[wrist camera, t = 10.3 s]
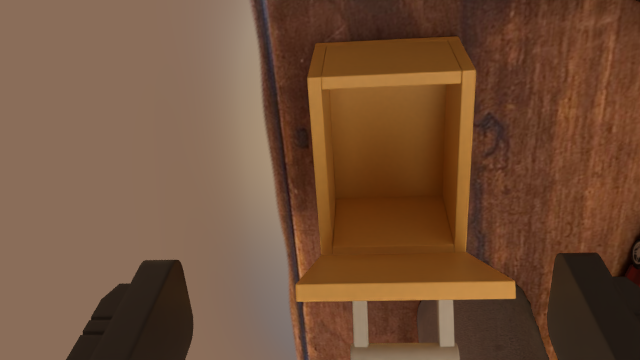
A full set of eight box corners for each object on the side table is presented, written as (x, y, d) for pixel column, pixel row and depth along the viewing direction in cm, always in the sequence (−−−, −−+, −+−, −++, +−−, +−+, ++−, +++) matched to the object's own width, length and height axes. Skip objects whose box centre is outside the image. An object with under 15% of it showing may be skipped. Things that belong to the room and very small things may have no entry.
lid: (295, 284, 27) (298, 397, 27) (515, 280, 26) (519, 397, 26) (320, 255, 40) (322, 330, 40) (466, 252, 39) (469, 329, 39)
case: (315, 43, 41) (306, 77, 35) (458, 35, 40) (476, 70, 34) (326, 202, 47) (321, 257, 41) (451, 198, 46) (466, 254, 40)
